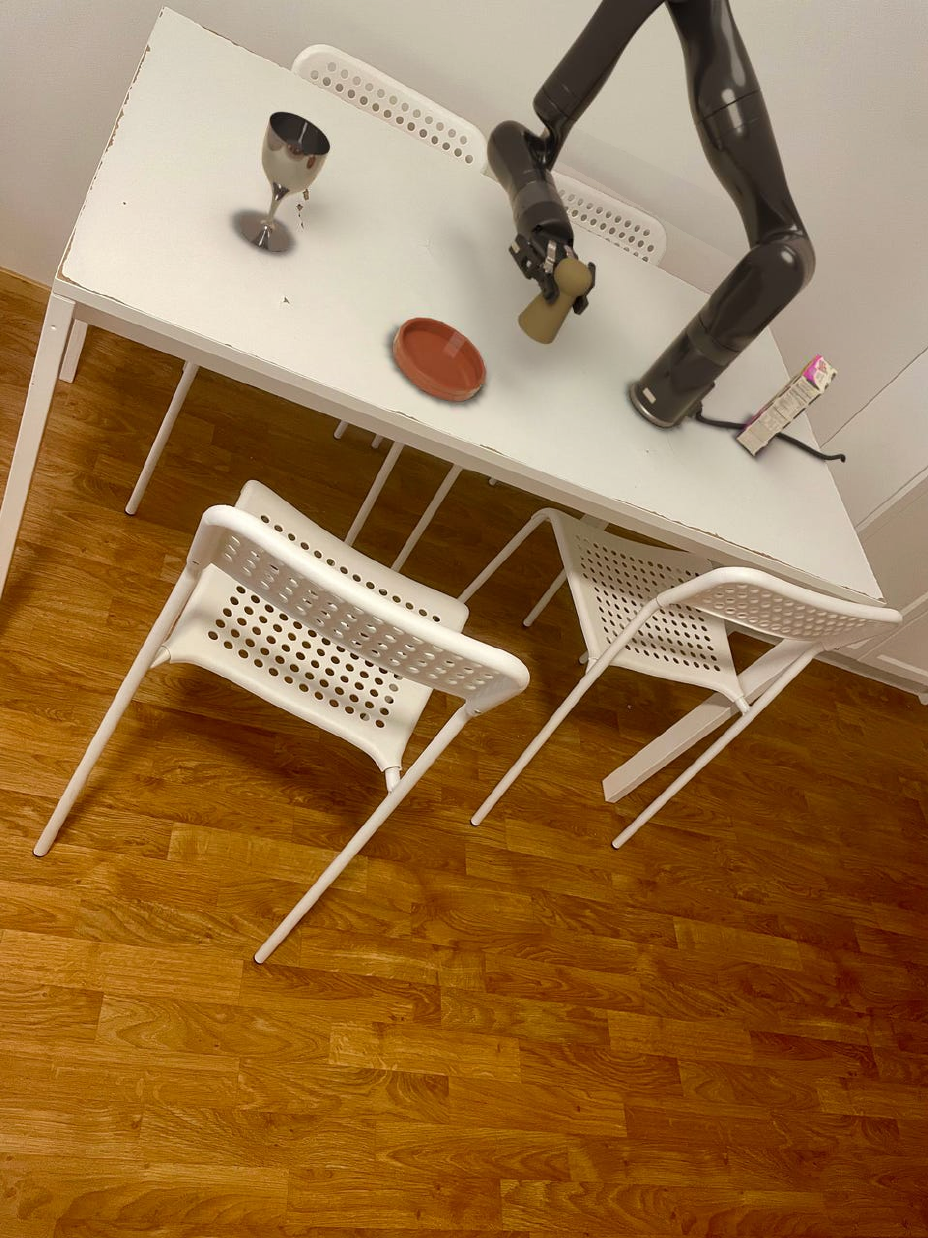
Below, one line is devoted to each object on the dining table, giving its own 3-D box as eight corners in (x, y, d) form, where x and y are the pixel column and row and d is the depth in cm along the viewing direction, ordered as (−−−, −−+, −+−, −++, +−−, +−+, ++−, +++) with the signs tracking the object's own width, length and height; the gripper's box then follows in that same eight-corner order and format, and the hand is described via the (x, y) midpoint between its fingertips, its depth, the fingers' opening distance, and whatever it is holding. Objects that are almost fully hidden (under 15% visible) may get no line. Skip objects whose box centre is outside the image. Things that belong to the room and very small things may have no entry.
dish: (469, 343, 127) (476, 332, 126) (485, 410, 121) (493, 400, 119) (387, 318, 121) (393, 306, 119) (399, 387, 114) (406, 376, 113)
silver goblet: (303, 246, 120) (342, 151, 109) (265, 258, 115) (301, 158, 104) (264, 208, 120) (299, 108, 109) (223, 218, 115) (256, 114, 104)
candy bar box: (751, 416, 159) (818, 352, 147) (770, 434, 159) (839, 372, 147) (733, 438, 151) (802, 372, 139) (753, 457, 151) (825, 393, 139)
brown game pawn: (549, 350, 120) (595, 290, 112) (513, 326, 118) (557, 263, 110) (557, 329, 123) (602, 269, 115) (522, 305, 122) (565, 243, 114)
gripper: (514, 182, 116) (539, 266, 108) (596, 218, 123) (625, 299, 115) (487, 228, 122) (509, 311, 114) (567, 259, 129) (593, 339, 121)
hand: (567, 304), depth 115 cm, fingers closed on brown game pawn, 4 cm apart
